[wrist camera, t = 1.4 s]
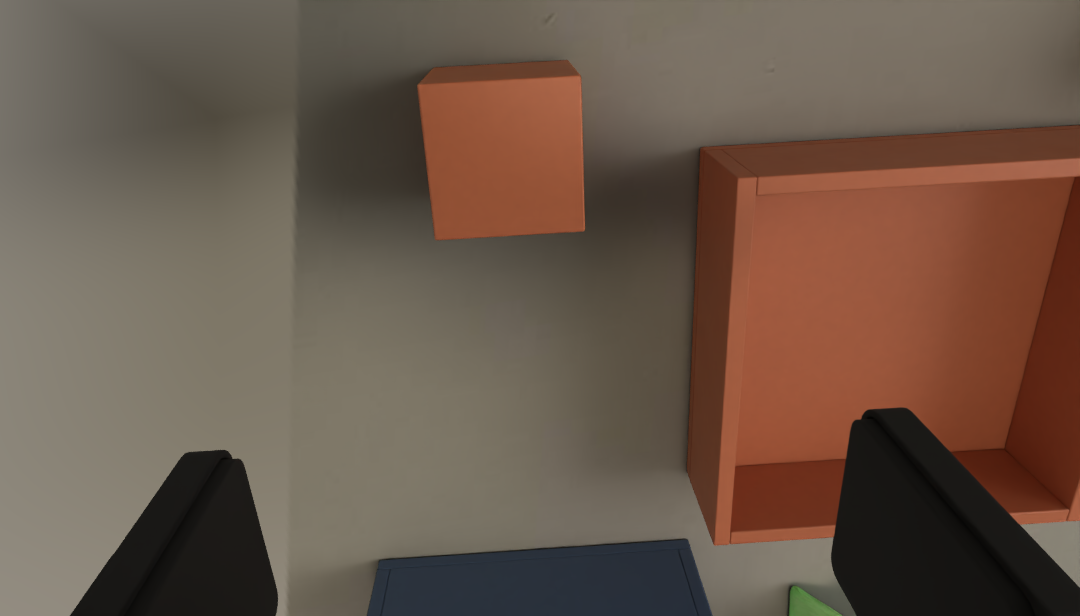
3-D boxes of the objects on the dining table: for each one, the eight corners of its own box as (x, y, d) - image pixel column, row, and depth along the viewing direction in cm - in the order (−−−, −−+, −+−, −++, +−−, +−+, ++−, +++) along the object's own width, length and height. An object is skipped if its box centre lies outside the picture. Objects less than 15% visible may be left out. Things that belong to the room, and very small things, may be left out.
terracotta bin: (686, 471, 31) (713, 546, 27) (700, 146, 26) (737, 178, 21) (1005, 450, 32) (1081, 521, 27) (1091, 123, 26) (1204, 150, 22)
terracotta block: (446, 200, 26) (434, 241, 22) (432, 67, 24) (416, 84, 20) (572, 192, 26) (585, 231, 22) (568, 59, 24) (581, 74, 20)
